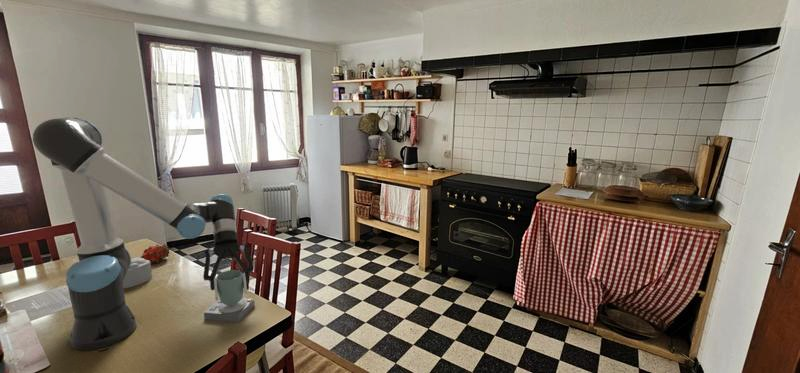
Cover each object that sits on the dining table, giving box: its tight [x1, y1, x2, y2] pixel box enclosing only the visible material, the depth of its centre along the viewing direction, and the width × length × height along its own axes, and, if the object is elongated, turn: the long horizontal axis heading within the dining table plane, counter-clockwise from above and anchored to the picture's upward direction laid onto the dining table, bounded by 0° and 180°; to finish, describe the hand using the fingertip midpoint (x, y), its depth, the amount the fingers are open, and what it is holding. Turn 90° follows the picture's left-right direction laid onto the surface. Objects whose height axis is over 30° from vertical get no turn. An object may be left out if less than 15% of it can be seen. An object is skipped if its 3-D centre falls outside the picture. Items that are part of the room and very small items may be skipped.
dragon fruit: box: [140, 244, 171, 264], centre depth 152 cm, size 8×8×12 cm
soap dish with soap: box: [203, 297, 255, 323], centre depth 115 cm, size 10×12×3 cm
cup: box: [216, 269, 245, 305], centre depth 114 cm, size 8×8×10 cm
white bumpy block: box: [123, 256, 153, 290], centre depth 134 cm, size 10×13×9 cm
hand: (231, 295), depth 111 cm, fingers closed on cup, 8 cm apart
